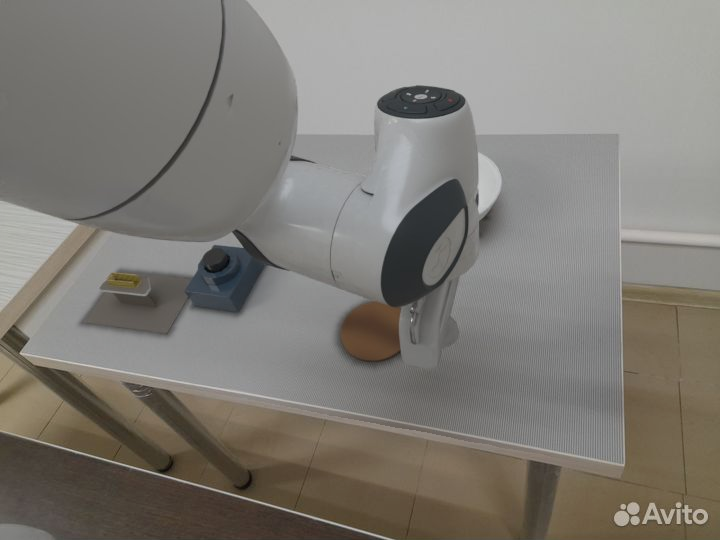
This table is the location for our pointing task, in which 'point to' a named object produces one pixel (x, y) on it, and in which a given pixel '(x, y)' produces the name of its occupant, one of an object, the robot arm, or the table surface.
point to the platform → (139, 302)
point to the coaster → (372, 332)
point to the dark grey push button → (215, 260)
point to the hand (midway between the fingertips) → (441, 321)
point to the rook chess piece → (451, 333)
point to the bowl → (487, 184)
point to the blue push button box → (225, 281)
